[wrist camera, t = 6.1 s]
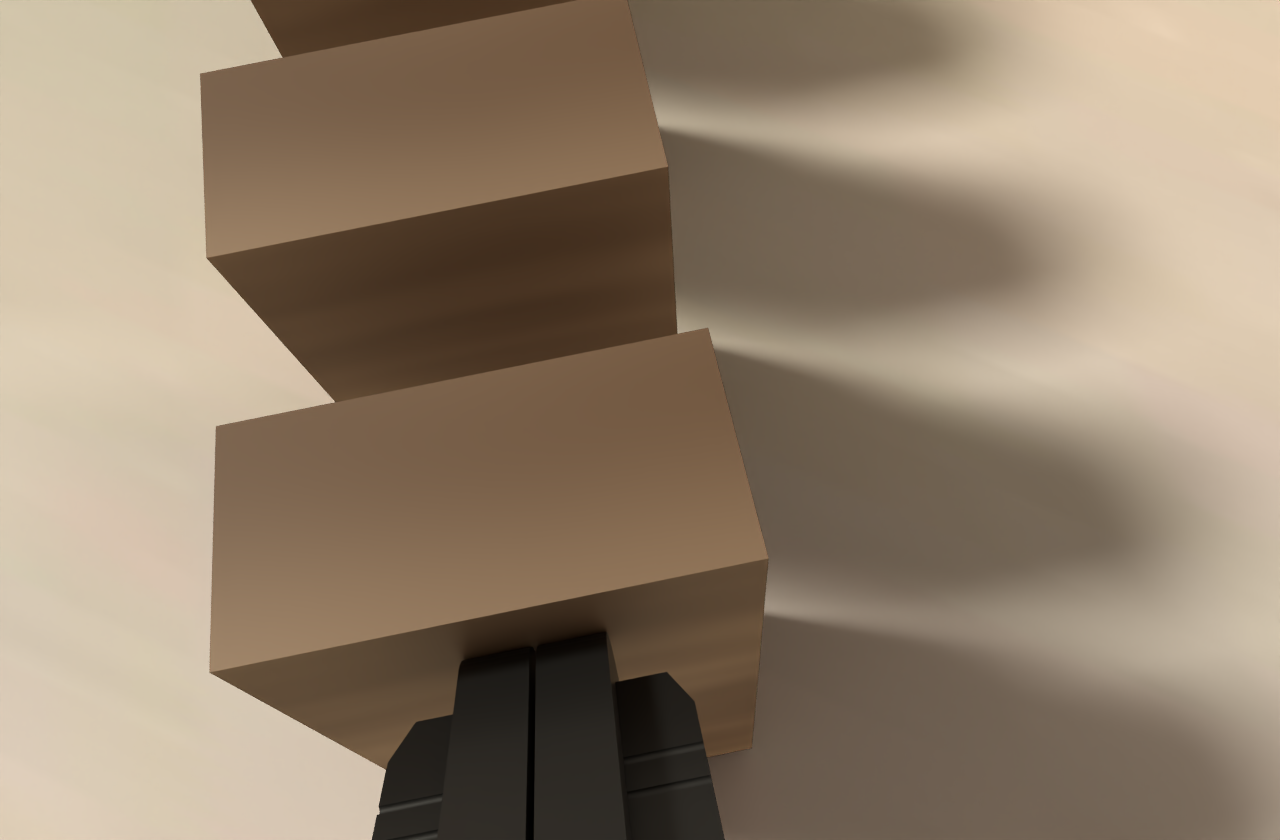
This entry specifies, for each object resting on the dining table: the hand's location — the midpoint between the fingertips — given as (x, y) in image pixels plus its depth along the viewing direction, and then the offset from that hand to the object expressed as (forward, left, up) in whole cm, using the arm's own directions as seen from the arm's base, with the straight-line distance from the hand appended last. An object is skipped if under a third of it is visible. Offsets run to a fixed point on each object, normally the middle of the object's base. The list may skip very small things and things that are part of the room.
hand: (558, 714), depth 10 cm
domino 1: (+1, 0, -7) cm, 7 cm away
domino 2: (+6, +2, -7) cm, 10 cm away
